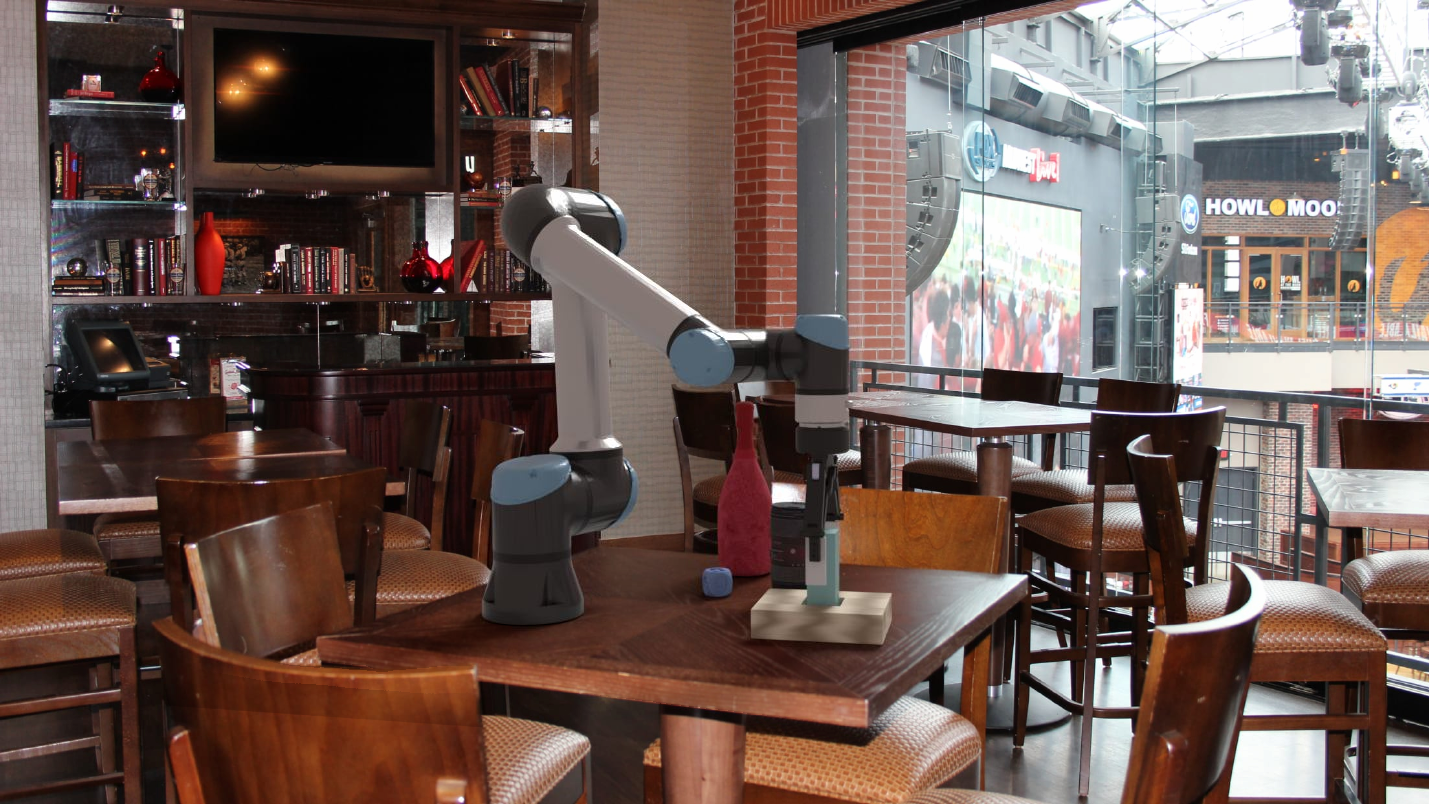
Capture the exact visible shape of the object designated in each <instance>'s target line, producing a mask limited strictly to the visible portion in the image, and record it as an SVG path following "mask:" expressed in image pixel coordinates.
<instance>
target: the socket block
mask: <svg viewBox="0 0 1429 804" xmlns="http://www.w3.org/2000/svg"><path fill="white" fill-rule="evenodd" d="M892 595H893V593H891V592H868V591H867V592H866V591H863V592H862V591H847V590H845V591H844V590H843V591H842V590H839V606H821V605H807V590H795V589H772V588H769V589H768V590H766V592H765V593H764V594H763V595H762V596H761V598H760V599H759V600H758V601H757V602H756V603H755V604H754V605H753V606H752V607H751V609H750V638H751V639H758V640H760V639H761V640H778V641H798V642H799V641H800V642H817V643H818V642H821V643H841V644H842V643H843V644H844V643H845V644H859V645H861V644H862V645H883V644H884V643H885V639H886V637H887V634H888V632H889V630H890V629H889V628H890V626H891V624H892V621H893V616H892V615H893V614H892V613H893V605H892V604H893V601H892V600H893V596H892Z"/></svg>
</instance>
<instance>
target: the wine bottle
mask: <svg viewBox="0 0 1429 804" xmlns="http://www.w3.org/2000/svg"><path fill="white" fill-rule="evenodd" d="M734 409H735V414H736V415H735V419H736V420H735V427H736V429H737V436H736V447H735V451H734V454H733V461H732V464H731V467H730V468H729V472H728V474H727V476H726V478H725V480H724V483H723V486H722V488H721V492H720V495H719V499H718V505H717V553H718V568H727V569H729V570H730V572H731V575H732V577H757V576H758V577H759V576H764V575H766V574H769V573H771V557H770V555H769V554H770V548H771V537H770V513H771V509H772V504H773V503H774V502H773V500H772V496H771V491H770V489H769V486H768V484H767V481H766V478H765V477H764V474H763V472H762V470H761V467H760V465H759V463H758V460H757V459H758V458H757V454H756V450H755V446H754V433H753V432H754V431H753V430H754V427H755V421H754V420H755V419H754V415H755V413H754V411H755V404H754V403H753V402H752V401H748V400H747V401H746V400H744V401H738V402H737V403H735V406H734Z"/></svg>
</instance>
